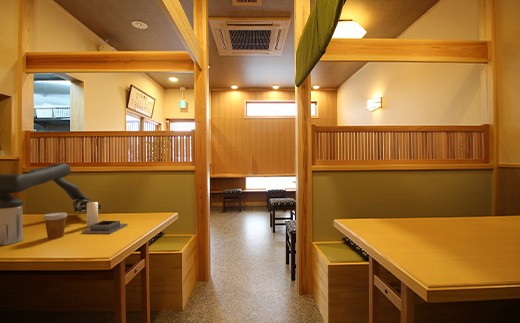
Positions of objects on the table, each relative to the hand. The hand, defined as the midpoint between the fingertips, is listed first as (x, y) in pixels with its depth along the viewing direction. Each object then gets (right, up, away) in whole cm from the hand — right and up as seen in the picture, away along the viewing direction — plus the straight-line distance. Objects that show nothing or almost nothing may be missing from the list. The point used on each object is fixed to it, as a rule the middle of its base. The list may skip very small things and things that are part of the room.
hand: (89, 209), depth 153 cm
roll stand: (+21, -8, -15) cm, 27 cm away
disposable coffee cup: (+3, -9, -29) cm, 30 cm away
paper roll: (+8, -8, -8) cm, 14 cm away
